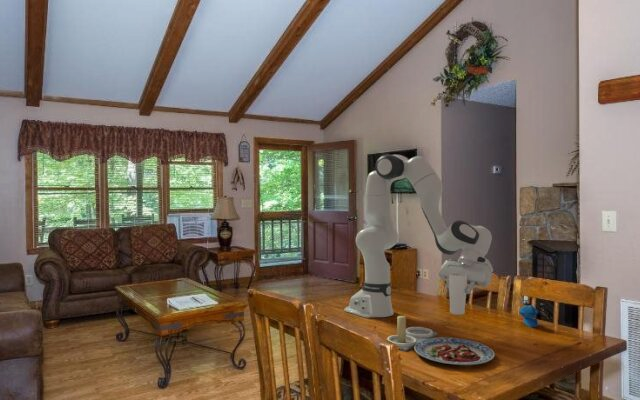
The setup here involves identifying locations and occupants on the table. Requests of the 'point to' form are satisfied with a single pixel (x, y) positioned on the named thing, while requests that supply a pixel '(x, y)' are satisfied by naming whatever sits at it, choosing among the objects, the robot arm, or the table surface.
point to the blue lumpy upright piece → (529, 315)
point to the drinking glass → (457, 293)
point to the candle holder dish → (409, 335)
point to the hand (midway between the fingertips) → (457, 290)
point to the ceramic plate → (454, 351)
